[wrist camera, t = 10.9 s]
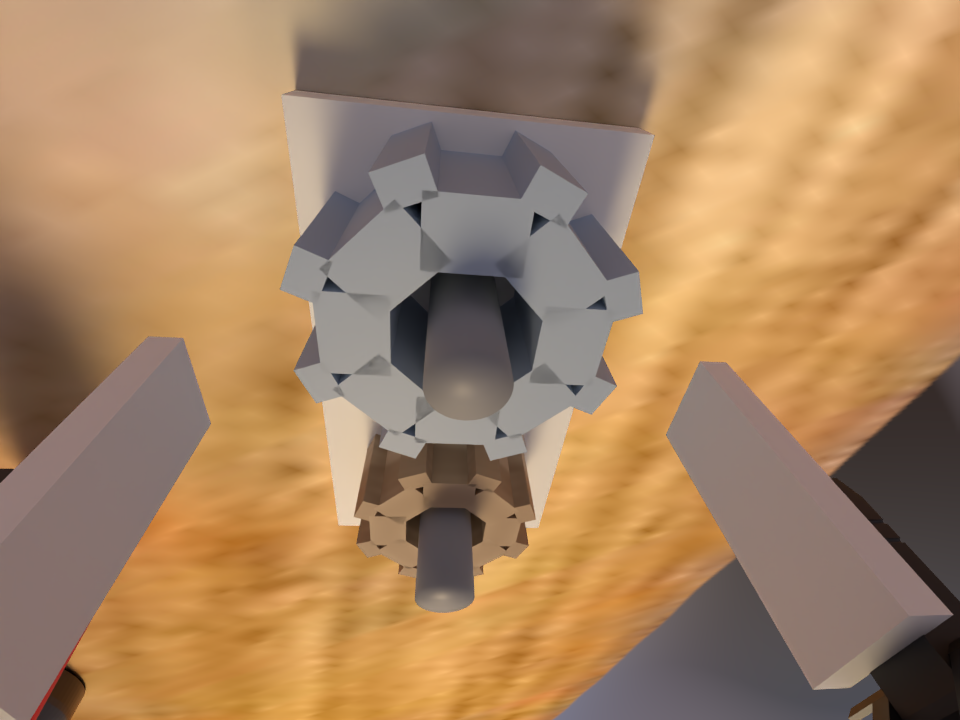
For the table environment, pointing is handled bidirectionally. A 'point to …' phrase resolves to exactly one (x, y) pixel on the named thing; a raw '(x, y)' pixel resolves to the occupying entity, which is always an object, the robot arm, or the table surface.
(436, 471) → the beech gear
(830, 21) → the table surface
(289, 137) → the gear board
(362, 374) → the gray gear
